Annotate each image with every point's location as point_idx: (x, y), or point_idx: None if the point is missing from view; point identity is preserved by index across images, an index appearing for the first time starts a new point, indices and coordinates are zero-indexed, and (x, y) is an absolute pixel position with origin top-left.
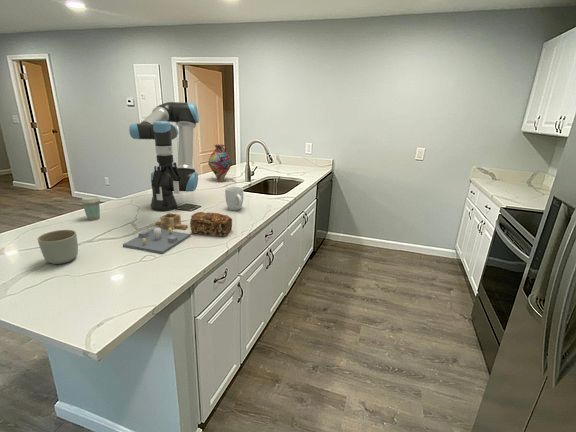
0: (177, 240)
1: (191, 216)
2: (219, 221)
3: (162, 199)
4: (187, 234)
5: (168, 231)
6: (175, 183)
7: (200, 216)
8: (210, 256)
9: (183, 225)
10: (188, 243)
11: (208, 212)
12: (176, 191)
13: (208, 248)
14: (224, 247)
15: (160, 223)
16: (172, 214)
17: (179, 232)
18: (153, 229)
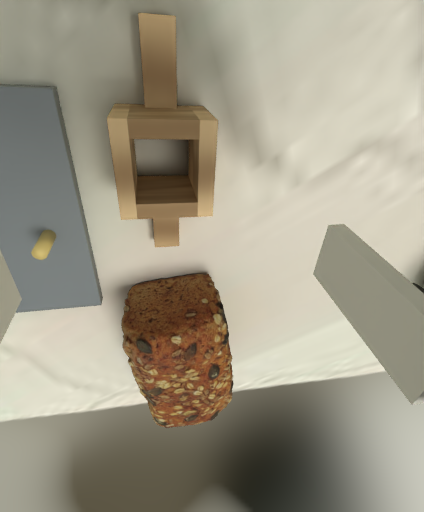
0: None
1: (140, 343)
2: (154, 418)
3: (16, 304)
4: (89, 299)
5: (66, 207)
6: (404, 347)
7: (146, 380)
8: (9, 409)
9: (169, 230)
10: (39, 326)
11: (213, 374)
12: (331, 269)
13: (50, 383)
14: (86, 403)
15: (142, 73)
16: (198, 167)
17: (88, 260)
18: (31, 98)
